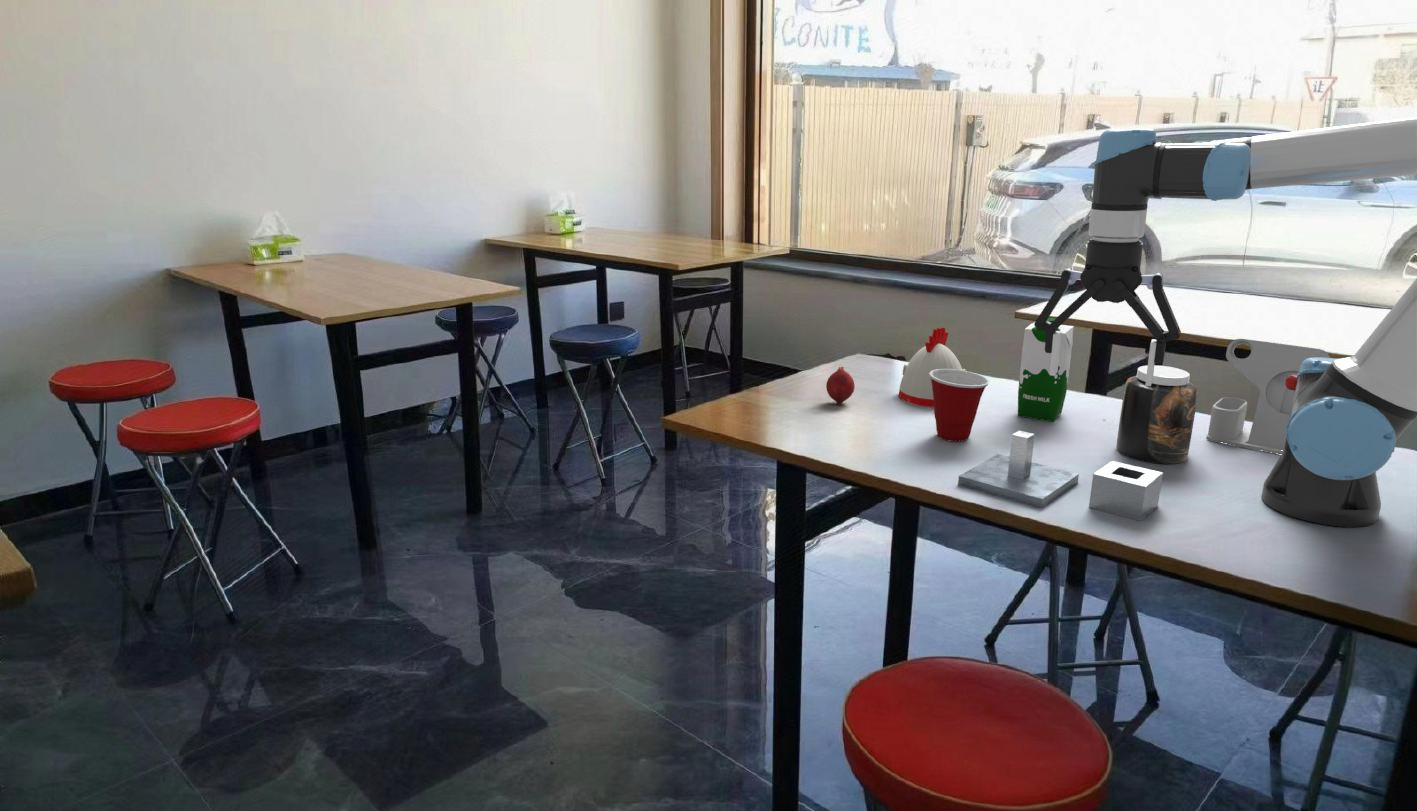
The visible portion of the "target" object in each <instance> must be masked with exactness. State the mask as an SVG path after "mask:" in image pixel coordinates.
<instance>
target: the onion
mask: <svg viewBox="0 0 1417 811" xmlns="http://www.w3.org/2000/svg"><path fill="white" fill-rule="evenodd" d="M854 381H855V380H854V379H853V377H852V376H851V375H850V373H849V372H848V371H846V370H845V367H844V366H843V365H840V366H838V368H837V370H836V371H835V372H833V373H832V374H830V376H829V377H828V378H827V380H826V384H825V385H826V386H825V387H826V392H827V394H828V396H829V397H830V398H831V399H832V400H834V402H836V404H843V403H844V402H846V401H847V400H848V399H849V398H850V397H852V395H853V394H854V391H855V382H854Z"/></svg>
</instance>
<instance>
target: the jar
mask: <svg viewBox="0 0 1417 811" xmlns="http://www.w3.org/2000/svg"><path fill="white" fill-rule="evenodd" d="M1147 368H1148V365H1142V366H1139V367H1138V368H1137V373H1136V375H1134V376H1131V377H1129V378H1127V380H1126V382H1125V385H1124V389H1123V397H1122V402H1121V410H1120V415H1119V416H1120V417H1119V423H1118V430H1117V438H1116V449H1117V451H1118V452H1119V453H1120V454H1122V455H1124V456H1126V457H1128V458H1131V459H1134V460H1137V461H1140V462H1145V463H1151V464H1158V465H1159V464H1160V465H1161V464H1162V465H1174V464H1180V463H1184V462H1186V461H1187V459H1188V457H1189V452H1190V446H1191V441H1192V440H1191V439H1192V434H1193V428H1194V423H1195V415H1196V409H1197V402H1198V401H1197V400H1198V388H1197V386H1196V385H1195V384H1193V383H1192V382H1190V377H1191V375H1190V372H1188V371H1186V370H1184V369H1181V368H1177V367H1174V366H1167V365H1156V364H1155V365H1154V373H1153V381H1152V384H1151V386H1145V384H1146V376H1147Z"/></svg>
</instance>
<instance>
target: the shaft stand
mask: <svg viewBox="0 0 1417 811" xmlns="http://www.w3.org/2000/svg"><path fill="white" fill-rule="evenodd" d="M1034 442H1035V433H1032V432H1027V431H1022V430H1016V432H1014V433H1012V434H1011V440H1010V450H1009V456H1008V455H1006V454H1001V453H1000V454H999V453H997V454H995V455H993V456H992V457H990V458H989V459H987V460H985V461H983V462H981V463H980V464H978V465H976V466H974V467H971V469H969V470H967V471H965V472H963V473H961V474H960V475H958V482H957V485H958V486H962V487H965V488H968V489H972V490H976V491H980V492H983V493H986V494H990V495H995V496H998V497H1002V498H1004V499H1008V500H1011V501H1015V502H1018V503H1019V502H1020V503H1023V504H1026V505H1030V506H1032V507H1033V506H1034V507H1036V508H1040V509H1043V508H1044V507H1045V506H1046V505H1048V504H1050V503H1051V502H1052V501H1054V500H1055V499H1057V498H1058V497H1059V496H1061V495H1062V494H1064V493H1066V491H1068V490H1069V489H1072V487H1074V486H1075V485H1076V484H1078V482H1079V476H1080V474H1079V473H1075V472H1072V471H1068V470H1065V469H1060V468H1056V467H1052V466H1048V465H1044V464H1040V463H1036V462H1033V461H1032V460H1033V454H1034V453H1033V451H1034V444H1035V443H1034Z"/></svg>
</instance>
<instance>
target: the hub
mask: <svg viewBox="0 0 1417 811" xmlns="http://www.w3.org/2000/svg"><path fill="white" fill-rule="evenodd" d="M1163 474H1164V472H1162V471H1158V470H1153V469H1149V468H1145V467H1140V466H1136V465H1132V464H1128V463H1123V462H1119V461H1115V460H1111V461H1109V462H1108V463H1106V464H1105V465H1104V466H1102V467H1101V468H1100V469H1098V470H1097V471H1096V472H1094V473H1092V479H1091V480H1092V481H1091V489H1090V497H1089V503H1088V508H1091V509H1092V510H1098V511H1101V512H1104V513H1109V514H1113V515H1115V516H1120V517H1123V518H1127V519H1131V520H1134V521H1138V522H1142V520H1145V518H1146V517H1147V516H1148V515H1149V514H1150V513H1152V512H1153V511H1154V510H1155V509H1156V508H1157V507H1158V506H1159V500H1160V493H1161V486H1162V479H1163Z"/></svg>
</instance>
